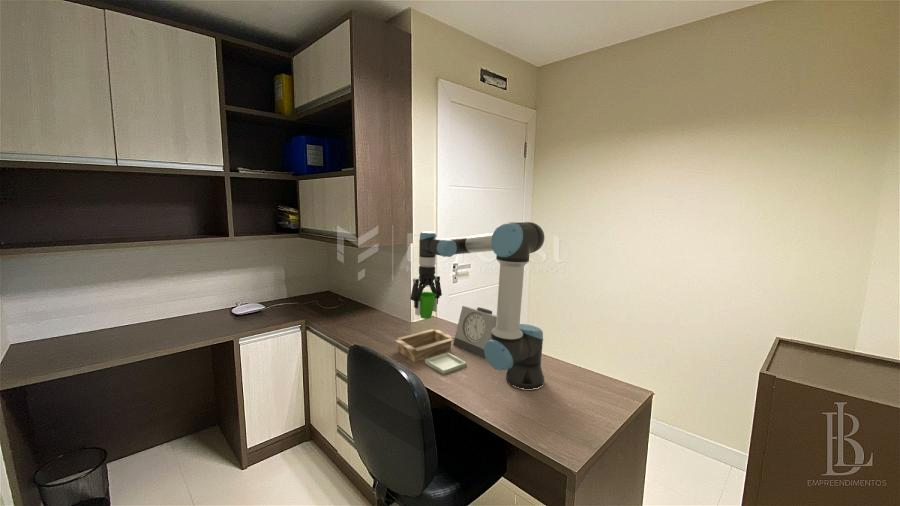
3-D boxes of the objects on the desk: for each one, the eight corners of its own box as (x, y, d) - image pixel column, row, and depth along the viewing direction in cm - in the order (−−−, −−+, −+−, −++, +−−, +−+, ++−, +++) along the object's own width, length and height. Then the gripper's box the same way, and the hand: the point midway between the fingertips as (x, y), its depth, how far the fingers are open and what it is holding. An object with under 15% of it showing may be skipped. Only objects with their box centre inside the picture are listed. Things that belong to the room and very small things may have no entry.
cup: (433, 320, 166) (433, 297, 164) (413, 319, 167) (414, 295, 166) (437, 314, 174) (438, 292, 173) (419, 313, 176) (419, 291, 174)
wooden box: (456, 350, 175) (457, 338, 174) (413, 364, 159) (413, 351, 158) (434, 339, 188) (435, 328, 187) (392, 351, 172) (392, 339, 171)
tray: (466, 366, 159) (466, 362, 159) (443, 374, 151) (443, 370, 151) (447, 355, 169) (447, 352, 169) (425, 363, 161) (425, 359, 161)
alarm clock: (452, 345, 182) (454, 306, 179) (474, 337, 193) (475, 300, 190) (484, 359, 167) (486, 316, 164) (505, 350, 178) (507, 310, 175)
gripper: (440, 262, 177) (439, 307, 180) (402, 266, 163) (402, 314, 166) (450, 264, 171) (449, 310, 175) (412, 269, 158) (411, 319, 161)
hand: (426, 312), depth 171 cm, fingers closed on cup, 9 cm apart
